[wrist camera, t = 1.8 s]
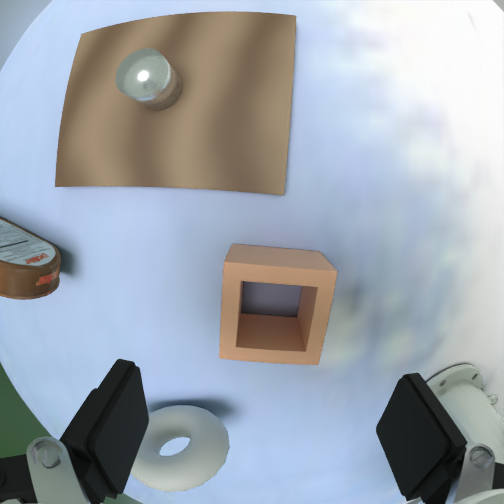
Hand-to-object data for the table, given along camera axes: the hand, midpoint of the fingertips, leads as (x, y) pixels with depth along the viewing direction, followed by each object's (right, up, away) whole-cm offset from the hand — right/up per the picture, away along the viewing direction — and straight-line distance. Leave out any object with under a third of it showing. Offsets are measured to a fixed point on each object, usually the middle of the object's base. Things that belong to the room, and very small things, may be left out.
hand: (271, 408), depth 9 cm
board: (-7, +17, +9) cm, 21 cm away
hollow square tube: (+1, +3, +13) cm, 13 cm away
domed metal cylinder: (-7, +17, +8) cm, 20 cm away
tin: (-23, +7, +13) cm, 27 cm away
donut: (-7, -10, +16) cm, 20 cm away
